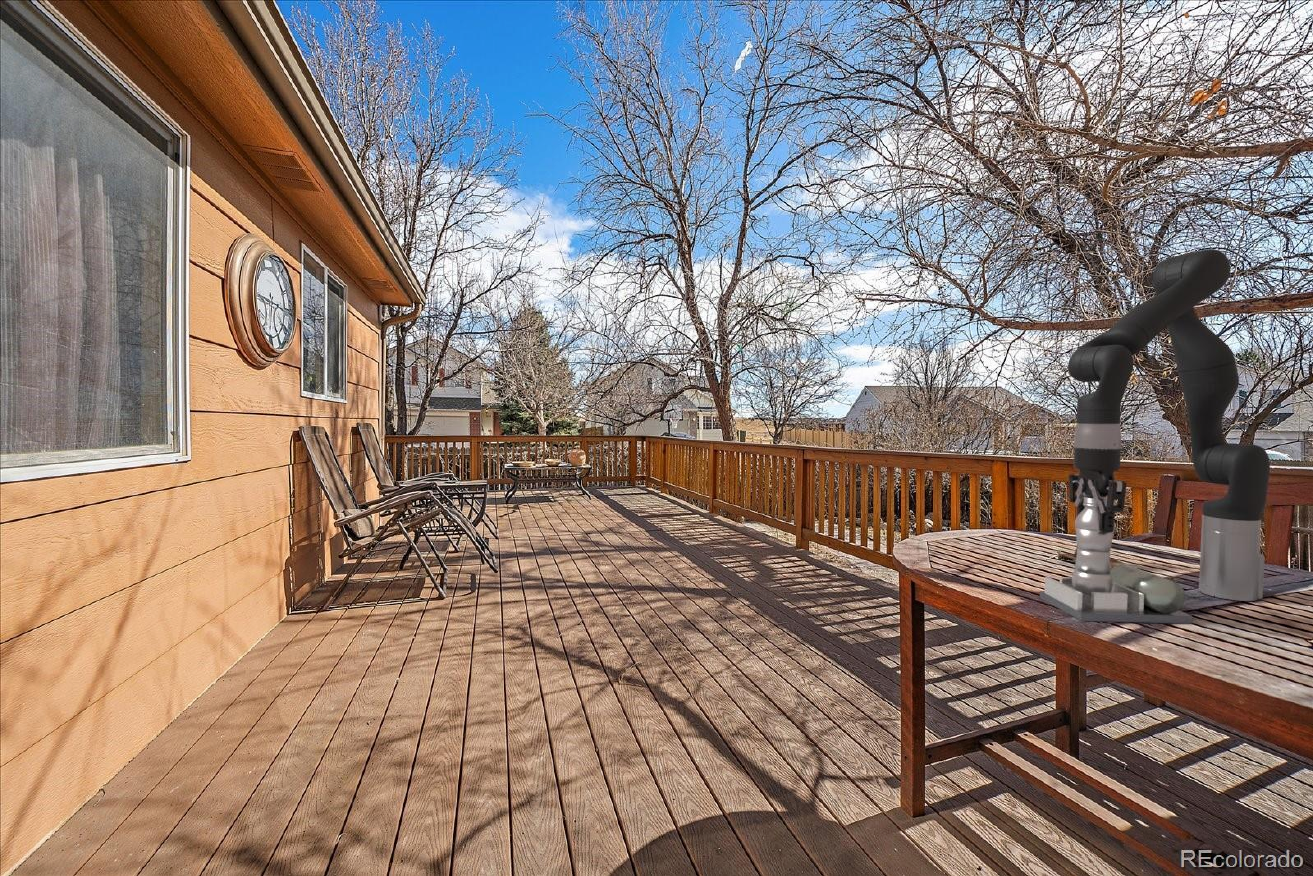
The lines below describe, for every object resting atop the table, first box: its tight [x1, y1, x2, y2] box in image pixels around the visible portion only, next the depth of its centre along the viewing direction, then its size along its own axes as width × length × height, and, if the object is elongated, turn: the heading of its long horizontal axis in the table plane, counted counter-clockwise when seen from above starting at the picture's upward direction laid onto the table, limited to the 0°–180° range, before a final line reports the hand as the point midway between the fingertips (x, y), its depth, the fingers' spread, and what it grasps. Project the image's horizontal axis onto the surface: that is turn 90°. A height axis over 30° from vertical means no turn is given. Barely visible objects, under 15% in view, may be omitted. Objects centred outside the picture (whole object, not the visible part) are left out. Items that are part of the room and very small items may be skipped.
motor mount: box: [1039, 563, 1193, 625], centre depth 120 cm, size 20×14×8 cm
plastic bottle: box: [1071, 496, 1116, 596], centre depth 120 cm, size 6×7×20 cm
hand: (1094, 528), depth 119 cm, fingers closed on plastic bottle, 6 cm apart
